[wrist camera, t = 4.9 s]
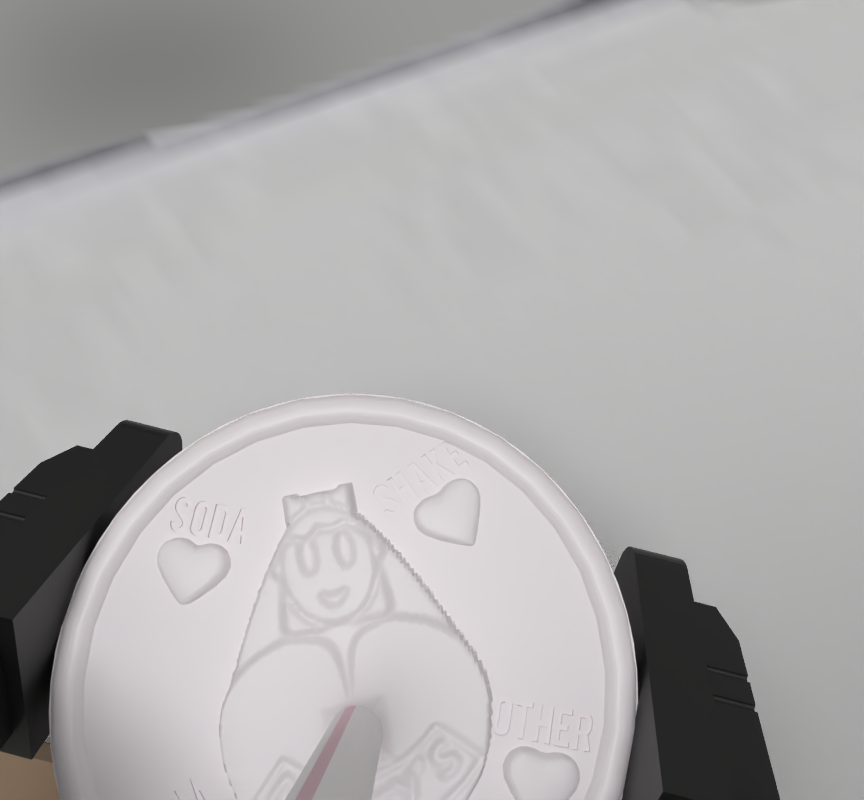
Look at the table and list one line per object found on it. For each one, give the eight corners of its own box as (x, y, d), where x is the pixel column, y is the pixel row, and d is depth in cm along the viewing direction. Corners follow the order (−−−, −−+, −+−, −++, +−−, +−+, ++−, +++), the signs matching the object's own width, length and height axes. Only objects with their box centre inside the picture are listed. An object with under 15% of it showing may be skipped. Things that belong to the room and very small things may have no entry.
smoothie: (262, 815, 16) (-436, 1877, 3) (220, 522, 18) (-368, 302, 4) (549, 746, 17) (1121, 1371, 3) (484, 467, 18) (695, 117, 5)
